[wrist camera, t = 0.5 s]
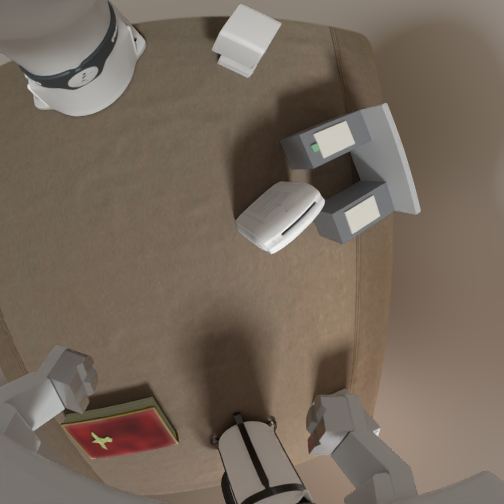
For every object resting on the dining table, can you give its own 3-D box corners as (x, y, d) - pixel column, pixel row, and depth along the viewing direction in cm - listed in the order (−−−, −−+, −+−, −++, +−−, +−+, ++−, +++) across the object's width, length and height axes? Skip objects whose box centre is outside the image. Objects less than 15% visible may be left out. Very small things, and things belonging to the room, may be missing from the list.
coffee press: (197, 420, 51) (236, 550, 23) (273, 401, 55) (343, 514, 27) (213, 463, 56) (250, 567, 28) (277, 446, 60) (331, 540, 32)
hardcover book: (177, 431, 51) (179, 445, 47) (93, 447, 46) (92, 461, 42) (153, 392, 47) (154, 407, 43) (63, 411, 43) (60, 425, 39)
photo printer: (247, 242, 45) (277, 264, 34) (229, 222, 44) (254, 238, 32) (295, 198, 46) (338, 205, 34) (279, 177, 44) (318, 177, 33)
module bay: (279, 140, 43) (317, 129, 32) (340, 115, 45) (386, 102, 33) (320, 235, 49) (363, 252, 37) (373, 202, 50) (420, 211, 39)
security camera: (224, 32, 36) (241, 0, 27) (263, 51, 38) (288, 24, 29) (206, 61, 37) (219, 32, 27) (247, 80, 39) (270, 56, 30)
